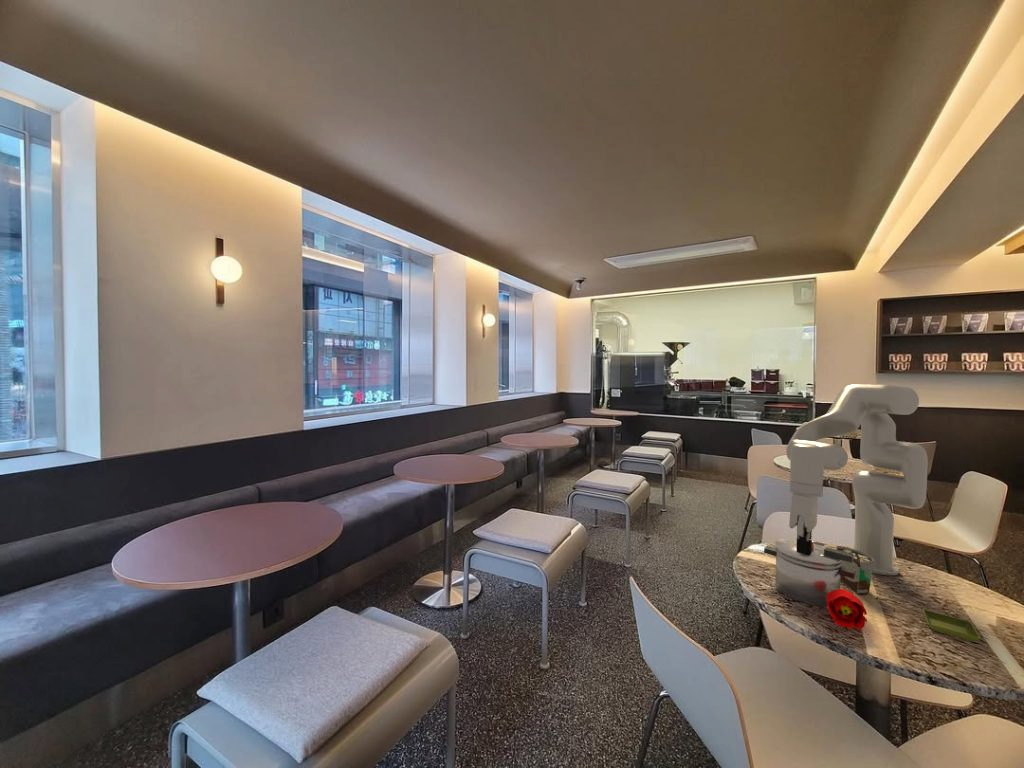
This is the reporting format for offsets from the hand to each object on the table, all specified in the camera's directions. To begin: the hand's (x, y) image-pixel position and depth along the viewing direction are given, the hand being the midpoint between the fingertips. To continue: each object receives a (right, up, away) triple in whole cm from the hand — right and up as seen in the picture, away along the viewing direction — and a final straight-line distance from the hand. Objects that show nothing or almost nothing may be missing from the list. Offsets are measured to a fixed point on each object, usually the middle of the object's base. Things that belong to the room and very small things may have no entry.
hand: (803, 553), depth 113 cm
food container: (+21, -13, +6) cm, 25 cm away
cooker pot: (+3, -13, +3) cm, 13 cm away
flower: (+2, -13, -11) cm, 17 cm away
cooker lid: (+4, -1, +2) cm, 5 cm away
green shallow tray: (+26, -14, -13) cm, 33 cm away
